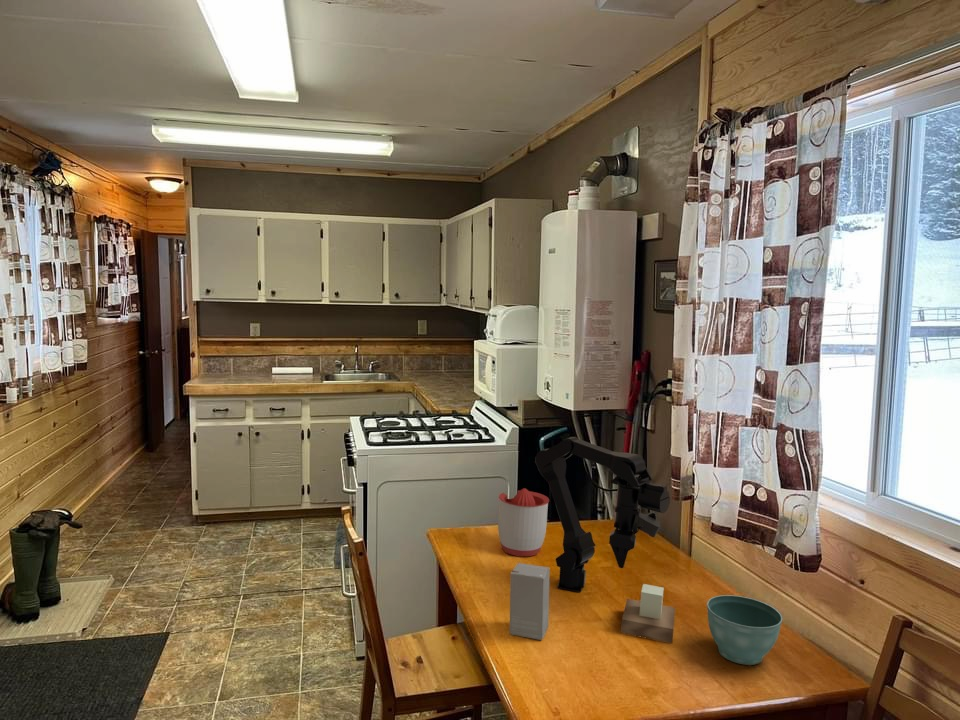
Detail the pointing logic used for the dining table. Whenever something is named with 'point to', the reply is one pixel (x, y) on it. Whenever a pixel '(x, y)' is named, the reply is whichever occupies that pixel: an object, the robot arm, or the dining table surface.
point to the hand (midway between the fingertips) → (623, 561)
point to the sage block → (651, 601)
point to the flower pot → (743, 627)
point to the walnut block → (648, 622)
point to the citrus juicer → (522, 522)
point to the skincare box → (529, 601)
